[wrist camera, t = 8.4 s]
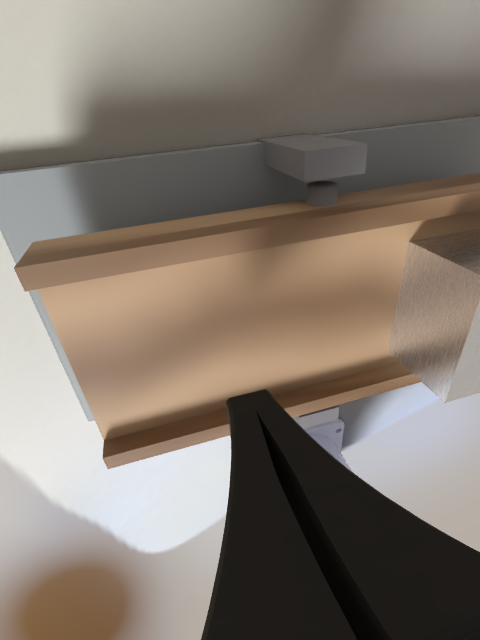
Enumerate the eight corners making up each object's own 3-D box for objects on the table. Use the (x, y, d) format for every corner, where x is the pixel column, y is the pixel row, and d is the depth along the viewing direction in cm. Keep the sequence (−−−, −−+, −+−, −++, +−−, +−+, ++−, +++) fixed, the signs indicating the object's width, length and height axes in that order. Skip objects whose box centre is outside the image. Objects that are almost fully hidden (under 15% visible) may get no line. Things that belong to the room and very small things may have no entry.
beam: (465, 344, 22) (507, 373, 20) (113, 436, 18) (111, 487, 16) (531, 149, 16) (604, 156, 14) (25, 222, 12) (-2, 252, 10)
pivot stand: (444, 327, 26) (509, 372, 22) (90, 410, 22) (79, 489, 17) (507, 110, 19) (626, 111, 14) (-17, 170, 14) (-87, 199, 10)
